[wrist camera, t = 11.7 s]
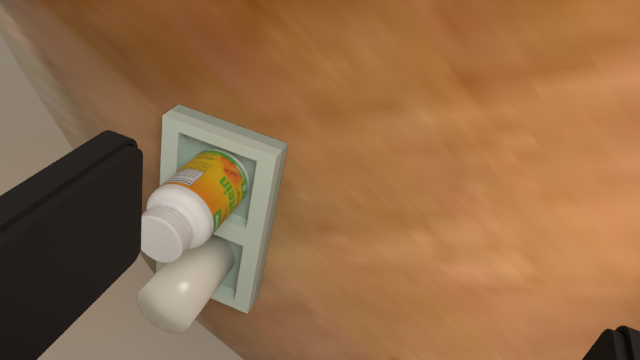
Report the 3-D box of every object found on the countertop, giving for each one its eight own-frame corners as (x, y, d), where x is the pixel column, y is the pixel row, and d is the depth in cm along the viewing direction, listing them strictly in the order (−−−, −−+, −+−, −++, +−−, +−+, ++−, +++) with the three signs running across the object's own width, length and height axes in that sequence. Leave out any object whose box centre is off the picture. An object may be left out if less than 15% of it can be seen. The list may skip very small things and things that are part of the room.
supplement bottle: (256, 204, 46) (198, 275, 38) (202, 200, 48) (136, 267, 40) (244, 147, 44) (179, 210, 36) (187, 145, 46) (113, 205, 38)
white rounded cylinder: (237, 242, 49) (192, 300, 43) (232, 281, 52) (188, 341, 45) (189, 223, 50) (137, 277, 44) (186, 262, 53) (136, 318, 46)
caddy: (178, 104, 45) (162, 115, 43) (288, 143, 44) (276, 157, 42) (169, 260, 55) (155, 274, 53) (257, 297, 54) (247, 313, 52)
